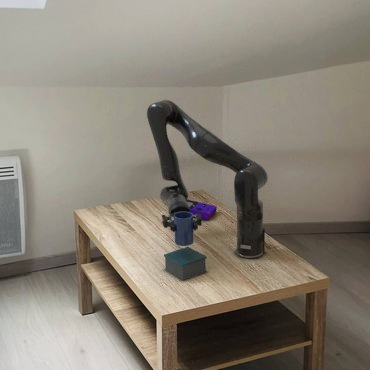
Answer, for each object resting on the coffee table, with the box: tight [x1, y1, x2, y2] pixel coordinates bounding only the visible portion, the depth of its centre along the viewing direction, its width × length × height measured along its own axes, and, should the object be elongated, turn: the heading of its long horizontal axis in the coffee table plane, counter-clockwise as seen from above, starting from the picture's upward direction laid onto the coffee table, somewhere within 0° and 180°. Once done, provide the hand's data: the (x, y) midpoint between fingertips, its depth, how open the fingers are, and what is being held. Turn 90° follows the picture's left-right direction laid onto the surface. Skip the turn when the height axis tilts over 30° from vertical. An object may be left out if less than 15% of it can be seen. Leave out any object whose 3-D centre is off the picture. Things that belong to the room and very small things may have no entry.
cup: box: [173, 212, 195, 247], centre depth 237 cm, size 7×7×10 cm
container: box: [163, 246, 208, 281], centre depth 242 cm, size 11×11×6 cm
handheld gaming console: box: [186, 198, 218, 221], centre depth 291 cm, size 9×5×15 cm
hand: (184, 228), depth 235 cm, fingers closed on cup, 6 cm apart
